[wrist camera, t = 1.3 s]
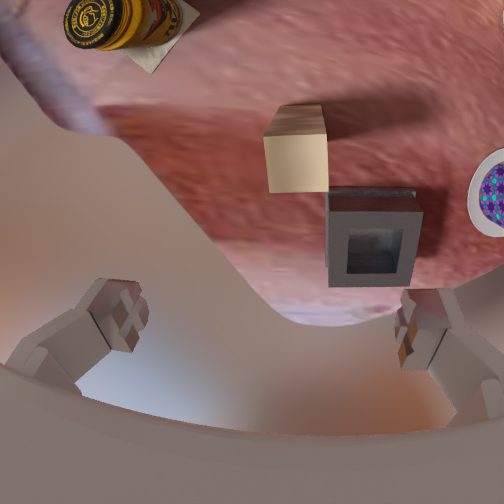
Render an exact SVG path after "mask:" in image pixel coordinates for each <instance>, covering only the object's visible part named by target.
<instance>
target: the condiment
mask: <svg viewBox="0 0 504 504" xmlns="http://www.w3.org/2000/svg"><path fill="white" fill-rule="evenodd" d="M199 15H200V12H198V11H197V10H196V9H194V8H193V7H191V6H190V5H189V4H187V3H186V2H184V1H183V0H72V1H71V3H70V4H69V6H68V8H67V9H66V12H65V15H64V21H63V23H64V31H65V34H66V37H67V39H68V40H69V42H70V43H71V44H73V45H74V46H75V47H78V48H82V49H92V48H95V49H98V50H102V51H110V50H120V51H121V52H123V53H124V54H126V55H127V56H128V57H129V58H131V59H133V60H134V61H135V62H136V63H137V64H138V65H140V66H141V67H143V68H144V69H145V70H146V71H147V72H149V73H150V74H152V73H153V71H154V70H155V68H156V67H157V66H158V65H159V63H160V62H161V60H162V59H163V58H164V56H165V55H166V54H167V53H168V51H169V50H170V49H171V48H172V47H173V45H174V44H175V43H176V42H177V41H178V39H179V38H180V37H181V36H182V34H183V33H184V32H185V31H186V30H187V29H188V28H189V26H190V25H191V24H192V23H193V22H194V21H195V19H196V18H197V17H198V16H199ZM151 47H153V48H152V49H151ZM148 48H150V49H149V50H146V49H148Z"/></svg>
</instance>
